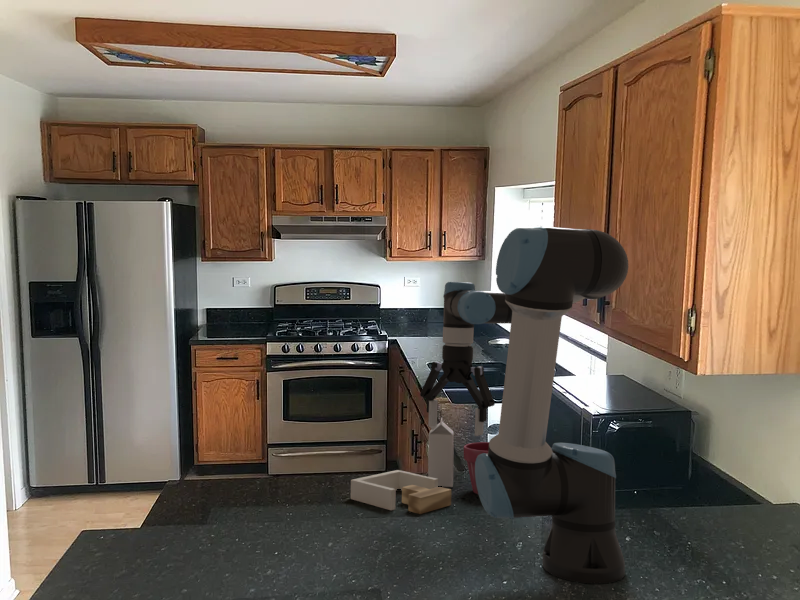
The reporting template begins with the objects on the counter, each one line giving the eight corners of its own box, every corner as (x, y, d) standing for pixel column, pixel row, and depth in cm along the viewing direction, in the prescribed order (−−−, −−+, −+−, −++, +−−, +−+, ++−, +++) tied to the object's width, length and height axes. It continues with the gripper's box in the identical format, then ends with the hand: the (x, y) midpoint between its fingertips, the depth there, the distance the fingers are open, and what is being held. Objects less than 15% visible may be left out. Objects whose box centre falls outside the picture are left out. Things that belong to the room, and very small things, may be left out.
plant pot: (455, 494, 178) (456, 447, 179) (472, 483, 191) (473, 440, 191) (506, 501, 172) (507, 452, 173) (520, 489, 185) (520, 444, 185)
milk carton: (453, 482, 193) (453, 417, 194) (452, 487, 186) (453, 421, 187) (429, 481, 194) (429, 417, 194) (427, 486, 186) (428, 420, 187)
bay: (437, 497, 175) (438, 478, 175) (391, 510, 162) (391, 490, 162) (397, 487, 185) (397, 469, 185) (350, 498, 172) (350, 479, 172)
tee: (451, 505, 168) (451, 489, 168) (420, 514, 159) (420, 497, 159) (422, 497, 175) (422, 482, 175) (390, 505, 166) (391, 489, 166)
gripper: (510, 347, 155) (507, 436, 155) (425, 340, 170) (423, 420, 171) (494, 349, 149) (491, 441, 150) (408, 341, 164) (405, 424, 165)
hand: (455, 430), depth 160 cm, fingers open, 13 cm apart
